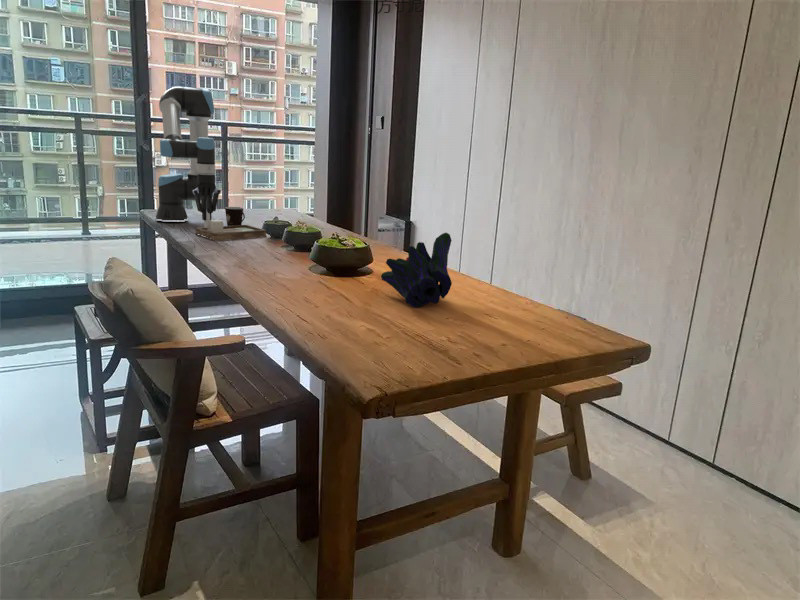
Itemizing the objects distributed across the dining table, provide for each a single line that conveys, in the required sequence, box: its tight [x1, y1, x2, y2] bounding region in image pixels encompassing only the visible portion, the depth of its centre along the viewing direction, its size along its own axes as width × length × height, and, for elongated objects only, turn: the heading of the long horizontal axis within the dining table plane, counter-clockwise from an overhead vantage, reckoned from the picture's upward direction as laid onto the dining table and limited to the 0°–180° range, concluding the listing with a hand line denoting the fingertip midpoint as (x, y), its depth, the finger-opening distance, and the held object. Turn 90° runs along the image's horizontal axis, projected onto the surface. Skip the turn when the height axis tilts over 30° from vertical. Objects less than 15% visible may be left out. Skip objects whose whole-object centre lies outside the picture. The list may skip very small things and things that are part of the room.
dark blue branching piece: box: [380, 232, 453, 309], centre depth 196 cm, size 21×26×30 cm
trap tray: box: [195, 224, 267, 241], centre depth 283 cm, size 17×26×3 cm, turn 135°
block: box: [208, 219, 224, 233], centre depth 279 cm, size 5×5×5 cm
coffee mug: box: [224, 206, 246, 226], centre depth 300 cm, size 12×9×10 cm
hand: (207, 227), depth 278 cm, fingers closed
